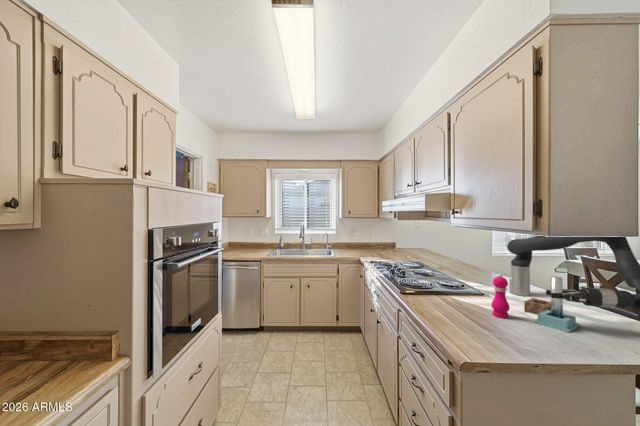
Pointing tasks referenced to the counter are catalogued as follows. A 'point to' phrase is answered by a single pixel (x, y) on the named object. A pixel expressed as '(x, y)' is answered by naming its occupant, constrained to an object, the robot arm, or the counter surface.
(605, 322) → the counter surface
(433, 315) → the counter surface
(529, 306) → the bore block
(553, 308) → the axle
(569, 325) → the socket
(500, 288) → the pepper mill
